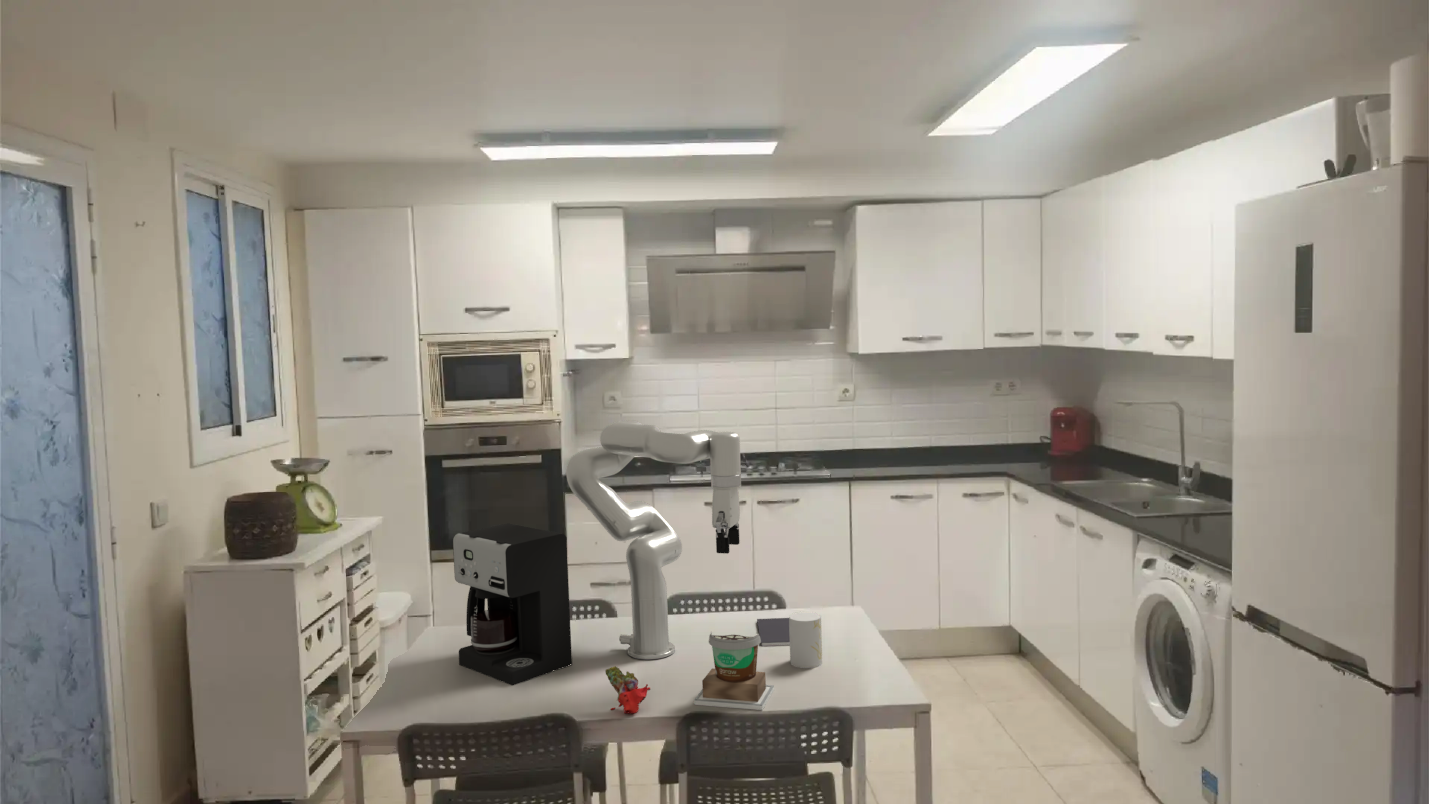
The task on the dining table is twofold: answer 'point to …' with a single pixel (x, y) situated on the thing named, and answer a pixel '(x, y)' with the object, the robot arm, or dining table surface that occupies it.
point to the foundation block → (734, 688)
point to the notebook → (774, 631)
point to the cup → (805, 639)
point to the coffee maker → (514, 601)
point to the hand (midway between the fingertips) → (728, 548)
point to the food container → (735, 656)
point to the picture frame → (736, 701)
